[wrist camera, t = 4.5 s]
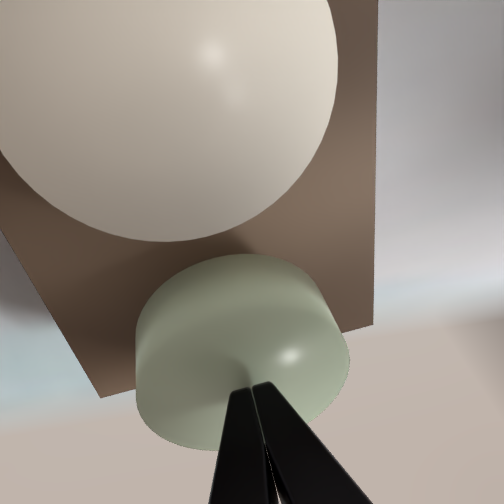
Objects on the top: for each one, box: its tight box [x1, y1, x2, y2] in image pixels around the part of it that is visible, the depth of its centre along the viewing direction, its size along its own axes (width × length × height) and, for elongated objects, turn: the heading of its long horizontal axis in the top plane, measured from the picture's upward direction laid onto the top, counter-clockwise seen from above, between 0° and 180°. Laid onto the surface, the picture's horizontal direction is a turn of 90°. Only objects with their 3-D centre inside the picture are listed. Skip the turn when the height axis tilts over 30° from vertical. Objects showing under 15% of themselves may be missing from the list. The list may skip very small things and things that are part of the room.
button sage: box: [135, 254, 350, 451], centre depth 10 cm, size 4×4×2 cm
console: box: [0, 0, 378, 398], centre depth 9 cm, size 17×8×3 cm, turn 8°
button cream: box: [0, 0, 338, 242], centre depth 6 cm, size 4×4×2 cm
